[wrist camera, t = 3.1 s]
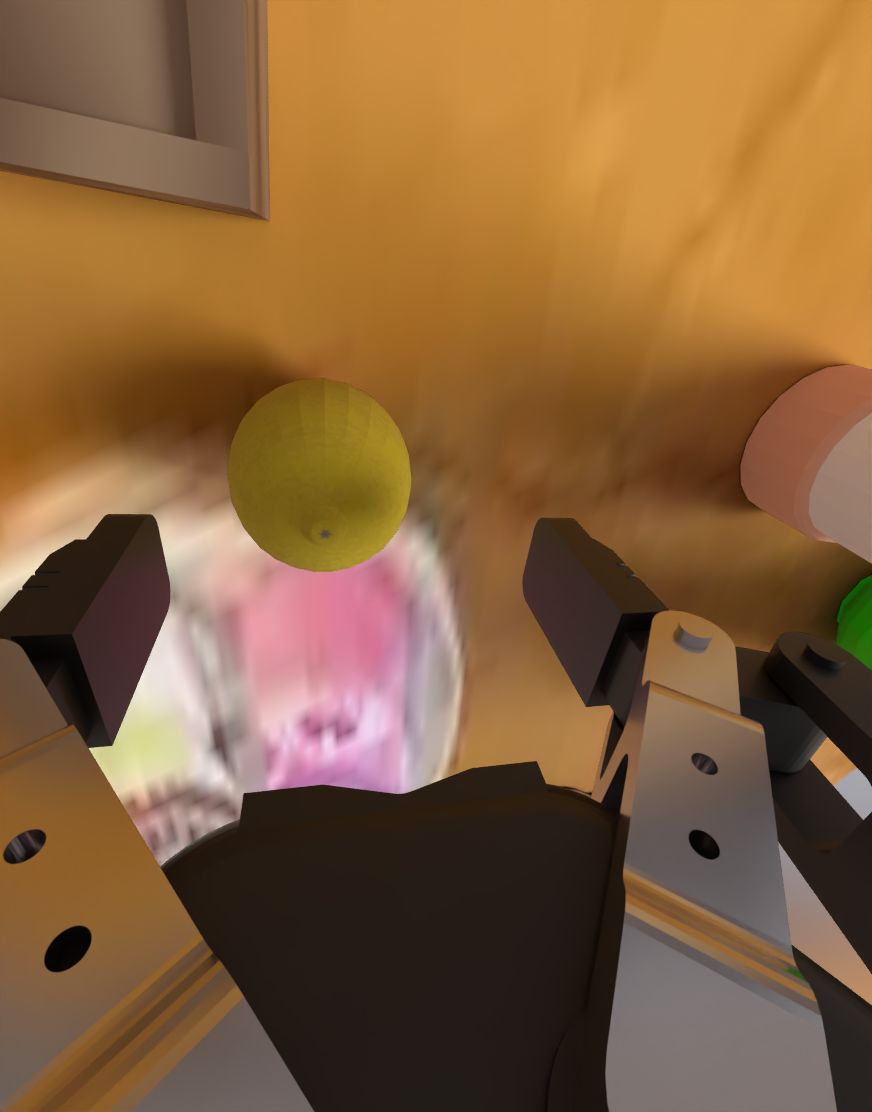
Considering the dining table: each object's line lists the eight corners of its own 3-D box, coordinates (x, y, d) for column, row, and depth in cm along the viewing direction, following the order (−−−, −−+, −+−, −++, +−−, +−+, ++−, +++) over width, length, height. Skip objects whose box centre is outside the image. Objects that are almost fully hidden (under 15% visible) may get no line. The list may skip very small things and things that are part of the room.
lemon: (256, 501, 20) (224, 628, 13) (235, 354, 17) (182, 423, 10) (392, 497, 21) (427, 613, 14) (395, 359, 18) (440, 424, 11)
